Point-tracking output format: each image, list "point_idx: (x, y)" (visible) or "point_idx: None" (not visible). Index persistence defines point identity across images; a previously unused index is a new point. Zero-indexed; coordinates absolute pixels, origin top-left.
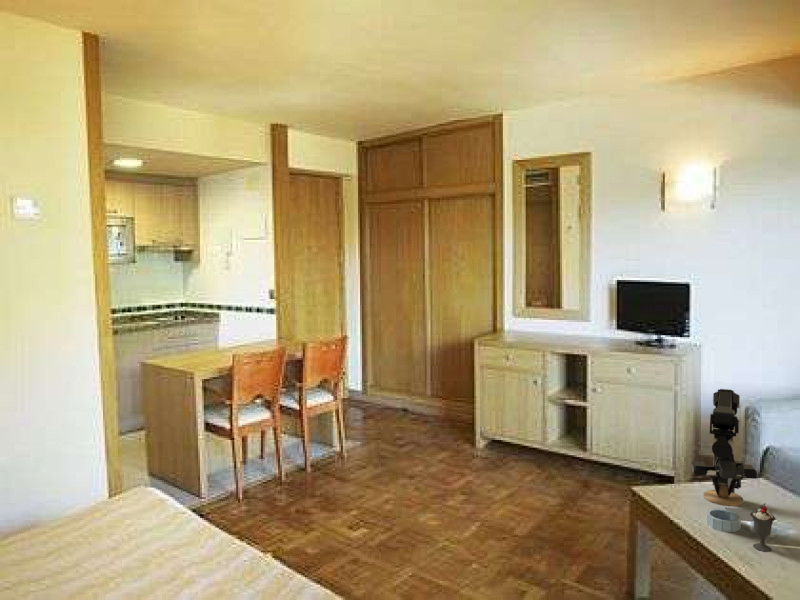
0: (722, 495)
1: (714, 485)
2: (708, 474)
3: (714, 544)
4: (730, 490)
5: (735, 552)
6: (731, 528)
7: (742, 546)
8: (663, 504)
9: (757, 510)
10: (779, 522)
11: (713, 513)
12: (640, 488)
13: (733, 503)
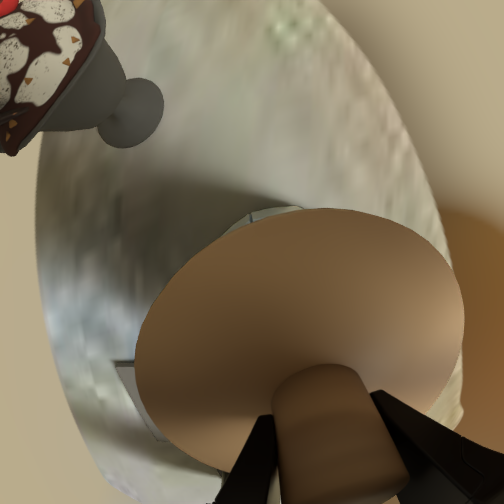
0: (343, 382)
1: (466, 438)
2: None
3: (333, 68)
4: (254, 460)
5: (248, 24)
6: (249, 215)
7: (211, 86)
8: None
9: (26, 28)
10: (87, 381)
11: None
12: None
13: (230, 251)
